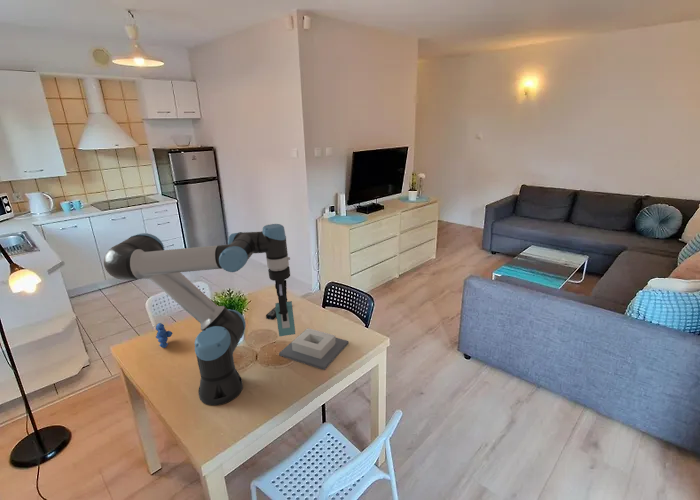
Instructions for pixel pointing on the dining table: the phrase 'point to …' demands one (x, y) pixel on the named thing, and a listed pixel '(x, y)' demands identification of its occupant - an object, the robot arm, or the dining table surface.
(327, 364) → the socket block
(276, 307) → the teal peg
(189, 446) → the dining table surface
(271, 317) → the multiport hub
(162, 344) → the grapes
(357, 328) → the dining table surface
